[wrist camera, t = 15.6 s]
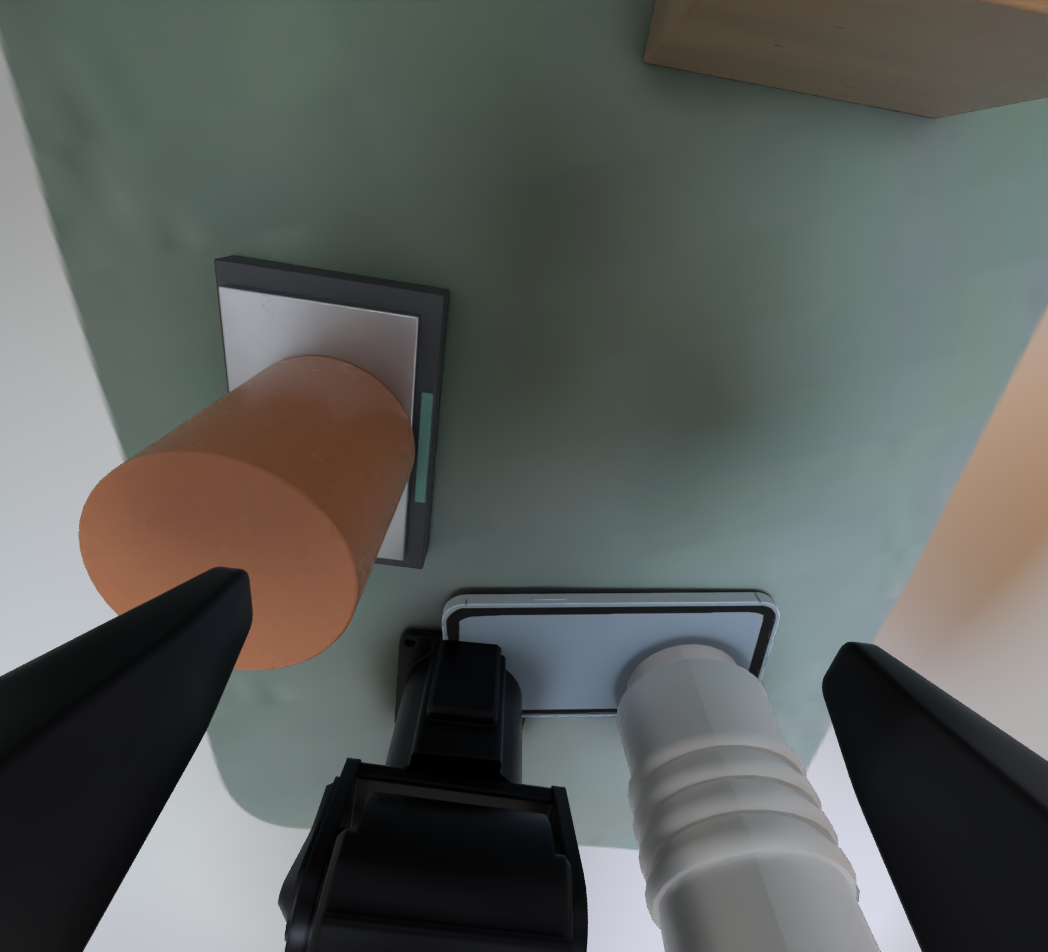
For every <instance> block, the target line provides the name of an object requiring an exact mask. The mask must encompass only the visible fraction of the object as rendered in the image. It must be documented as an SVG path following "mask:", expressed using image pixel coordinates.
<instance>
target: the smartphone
mask: <svg viewBox="0 0 1048 952" xmlns="http://www.w3.org/2000/svg"><path fill="white" fill-rule="evenodd" d="M779 621H780V611H779V609H778V608H777V606H776V605H775V603H774V601H773V600H772V599H771V598H770V597H769V596H768V595H766V594H764V593H760V592H718V593H592V594H466V595H459V596H456V597H454V598H452V599H450V600H449V601H448V602H447V603H446V604H445V606H444V609H443V615H442V633H443V640H455V641H465V642H476V643H486V644H497V645H499V646H500V647H501V655H503V656H504V657H505V658H506V670H507V671H508V672H509V673H510V674H512V675H513V677H514V678H515V679H516V681H517V682H518V684H519V686H520V688H521V693H522V717H592V716H617V708H618V706H619V704H620V701H621V699H622V697H623V695H624V694H625V692H626V691H627V683H628V680H629V678H630V676H631V674H632V672H633V671H634V670H635V669H636V667H637V666H638V665H639V664H640V663H641V662H642V661H644V660H645V659H647V658H648V657H649V656H651V655H652V654H655V653H657V652H659V651H661V650H663V649H666V648H670V647H674V646H678V645H688V644H699V645H706V646H711V647H714V648H716V649H719V650H722V651H724V652H725V653H726V654H728V655H729V656H730V657H732V658H733V660H734V661H735V663H736V664H737V666H740V667H742V668H745V669H746V670H748V671H749V672H750V673H751V674H753V675H754V676H755V677H756V678H758V680H759V681H760V683H761V680H762V677H763V673H764V670H765V667H766V664H767V660H768V657H769V654H770V650H771V647H772V644H773V640H774V637H775V634H776V631H777V627H778V624H779Z"/></svg>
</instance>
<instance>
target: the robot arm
mask: <svg viewBox="0 0 1048 952" xmlns="http://www.w3.org/2000/svg"><path fill="white" fill-rule="evenodd" d="M252 620H253V607H252V597H251V587H250V578H249V575H248V573H247V572H246V571H245V570H243V569H238V568H230V567H222V566H221V567H214V568H212V569H209V570H207V571H205V572H203V573H202V574H200V575H198V576H196V577H194V578H192V579H190V580H188V581H186V582H184V583H182V584H180V585H178V586H176V587H174V588H172V589H170V590H168V591H166V592H164V593H162V594H160V595H159V596H157V597H155V598H153V599H151V600H149V601H147V602H145V603H143V604H141V605H139V606H137V607H135V608H133V609H131V610H129V611H127V612H125V613H123V614H121V615H119V616H118V617H116V618H114V619H112V620H110V621H108V622H106V623H104V624H102V625H100V626H98V627H96V628H94V629H92V630H90V631H88V632H87V633H84V634H82V635H80V636H78V637H76V638H74V639H73V640H71V641H69V642H67V643H65V644H63V645H61V646H59V647H57V648H55V649H53V650H51V651H49V652H47V653H45V654H43V655H41V656H39V657H38V658H35V659H33V660H31V661H30V662H28V663H26V664H24V665H22V666H20V667H18V668H16V669H14V670H12V671H10V672H8V673H6V674H4V675H3V676H0V952H83V951H84V949H85V947H86V945H87V943H88V941H89V940H90V938H91V936H92V935H93V933H94V931H95V929H96V927H97V926H98V924H99V922H100V920H101V918H102V917H103V915H104V913H105V911H106V909H107V908H108V906H109V904H110V902H111V901H112V899H113V897H114V895H115V893H116V892H117V890H118V888H119V886H120V884H121V883H122V881H123V879H124V877H125V875H126V874H127V872H128V870H129V868H130V867H131V865H132V863H133V861H134V859H135V858H136V856H137V854H138V852H139V851H140V849H141V847H142V845H143V844H144V842H145V840H146V838H147V836H148V834H149V833H150V831H151V829H152V827H153V825H154V824H155V822H156V820H157V818H158V817H159V815H160V813H161V811H162V810H163V808H164V806H165V804H166V802H167V801H168V799H169V797H170V795H171V793H172V792H173V790H174V788H175V786H176V785H177V783H178V781H179V779H180V778H181V776H182V774H183V772H184V770H185V768H186V767H187V765H188V763H189V761H190V760H191V758H192V756H193V754H194V752H195V751H196V749H197V747H198V745H199V743H200V741H201V739H202V738H203V736H204V734H205V732H206V730H207V728H208V726H209V724H210V721H211V719H212V717H213V715H214V713H215V710H216V708H217V706H218V703H219V701H220V699H221V696H222V694H223V692H224V689H225V687H226V685H227V682H228V680H229V678H230V675H231V673H232V671H233V668H234V666H235V664H236V661H237V659H238V657H239V654H240V652H241V650H242V647H243V645H244V643H245V640H246V638H247V636H248V633H249V631H250V628H251V625H252ZM409 639H413V640H414V641H411V640H409ZM822 691H823V696H824V699H825V702H826V706H827V709H828V712H829V715H830V718H831V721H832V724H833V727H834V730H835V734H836V736H837V739H838V743H839V746H840V749H841V752H842V755H843V758H844V762H845V764H846V768H847V771H848V774H849V777H850V780H851V783H852V786H853V789H854V791H855V794H856V797H857V799H858V802H859V804H860V807H861V809H862V812H863V814H864V816H865V819H866V821H867V824H868V826H869V828H870V831H871V833H872V835H873V838H874V840H875V842H876V845H877V847H878V849H879V852H880V854H881V857H882V859H883V861H884V864H885V866H886V868H887V871H888V873H889V875H890V877H891V880H892V882H893V885H894V887H895V889H896V892H897V894H898V897H899V899H900V901H901V904H902V906H903V908H904V911H905V913H906V915H907V918H908V920H909V923H910V925H911V927H912V929H913V932H914V934H915V937H916V939H917V941H918V944H919V946H920V948H921V951H922V952H1048V761H1047V760H1045V759H1043V758H1042V757H1040V756H1039V755H1038V754H1036V753H1035V752H1033V751H1032V750H1030V749H1029V748H1027V747H1026V746H1024V745H1023V744H1021V743H1020V742H1018V741H1017V740H1015V739H1014V738H1013V737H1011V736H1010V735H1008V734H1006V733H1005V732H1004V731H1002V730H1001V729H999V728H998V727H996V726H995V725H993V724H992V723H990V722H989V721H987V720H986V719H985V718H983V717H982V716H980V715H979V714H977V713H976V712H974V711H973V710H971V709H970V708H968V707H967V706H965V705H964V704H962V703H961V702H959V701H958V700H956V699H955V698H953V697H952V696H951V695H949V694H948V693H946V692H944V691H943V690H942V689H940V688H939V687H937V686H936V685H934V684H933V683H931V682H930V681H928V680H927V679H925V678H924V677H922V676H921V675H920V674H918V673H916V672H915V671H914V670H912V669H911V668H909V667H908V666H906V665H905V664H903V663H902V662H900V661H899V660H897V659H896V658H894V657H893V656H891V655H890V654H888V653H887V652H885V651H884V650H883V649H881V648H880V647H878V646H876V645H873V644H867V643H859V642H847V643H845V644H844V645H842V647H841V648H840V650H839V651H838V653H837V655H836V657H835V658H834V660H833V662H832V664H831V665H830V667H829V669H828V671H827V672H826V674H825V676H824V678H823V682H822ZM524 721H525V717H522V693H521V688H520V686H519V684H518V682H517V681H516V679H515V678H514V677H513V675H512V674H510V673H509V672H508V671H507V670H506V658H505V657H504V656H503V655H501V647H500V646H499V645H497V644H486V643H476V642H465V641H455V640H443V633H442V632H437V631H428V630H419V629H407V630H405V631H404V632H402V635H401V639H400V644H399V660H398V676H397V693H396V709H395V728H394V732H393V736H392V740H391V744H390V748H389V752H388V756H387V760H386V764H385V765H378V764H370V763H363V762H361V760H360V759H353V758H347V760H346V763H345V765H344V768H343V770H342V773H341V776H340V777H337V776H336V777H335V780H334V782H333V783H331V784H329V785H327V786H326V789H325V792H324V795H323V798H322V801H321V804H320V807H319V809H318V812H317V815H316V818H315V821H314V824H313V826H312V829H311V831H310V833H309V835H308V837H307V839H306V841H305V843H304V845H303V847H302V849H301V850H300V852H299V854H298V856H297V858H296V860H295V862H294V864H293V865H292V867H291V869H290V871H289V873H288V875H287V877H286V879H285V880H284V883H283V885H282V888H281V891H280V895H279V899H278V905H279V907H280V909H281V911H282V914H283V916H284V918H285V920H286V922H287V924H286V930H285V941H287V942H286V947H285V952H587V937H588V912H587V911H588V910H587V894H586V885H585V880H584V873H583V868H582V863H581V859H580V854H579V849H578V845H577V840H576V835H575V830H574V826H573V821H572V816H571V811H570V807H569V802H568V797H567V792H566V788H565V787H558V786H551V788H547V787H540V786H532V785H525V784H522V729H523V725H524Z"/></svg>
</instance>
